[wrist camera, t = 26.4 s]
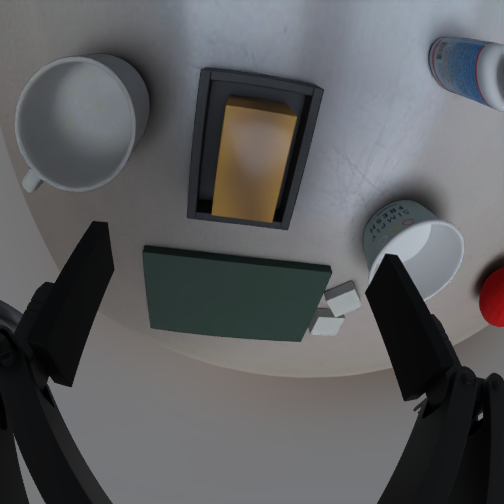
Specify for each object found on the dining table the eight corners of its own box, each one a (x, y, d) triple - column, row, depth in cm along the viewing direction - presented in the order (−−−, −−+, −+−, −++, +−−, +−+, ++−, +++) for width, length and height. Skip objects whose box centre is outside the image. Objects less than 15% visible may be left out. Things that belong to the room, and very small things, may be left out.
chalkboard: (152, 321, 42) (150, 328, 41) (144, 245, 33) (142, 251, 32) (299, 335, 44) (300, 341, 43) (330, 266, 36) (332, 272, 35)
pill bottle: (446, 101, 23) (520, 139, 14) (416, 52, 20) (496, 69, 11) (478, 74, 20) (554, 104, 12) (452, 26, 18) (533, 38, 9)
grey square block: (308, 326, 43) (309, 334, 42) (316, 308, 41) (318, 317, 39) (333, 327, 43) (335, 335, 42) (342, 309, 41) (345, 318, 40)
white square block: (332, 309, 41) (335, 317, 40) (323, 292, 39) (326, 301, 37) (359, 298, 40) (362, 306, 38) (351, 280, 38) (355, 289, 36)
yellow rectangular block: (216, 186, 28) (211, 215, 24) (229, 94, 23) (225, 104, 19) (267, 192, 29) (272, 223, 25) (287, 103, 24) (297, 116, 19)
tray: (191, 202, 30) (186, 218, 28) (205, 67, 22) (200, 69, 19) (284, 213, 31) (288, 230, 29) (315, 85, 23) (324, 89, 21)
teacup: (129, 29, 19) (87, 25, 13) (182, 124, 25) (161, 153, 19) (28, 112, 22) (-21, 138, 16) (77, 188, 28) (41, 230, 22)
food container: (402, 168, 28) (432, 198, 23) (452, 223, 32) (478, 255, 27) (331, 245, 34) (345, 285, 29) (391, 283, 38) (407, 319, 33)
